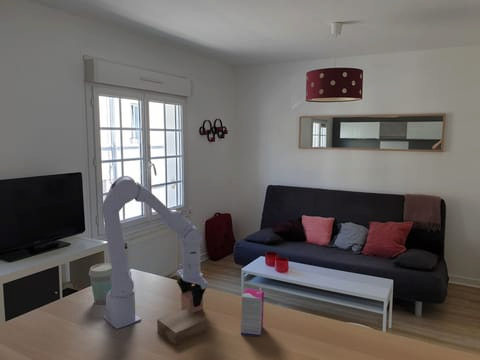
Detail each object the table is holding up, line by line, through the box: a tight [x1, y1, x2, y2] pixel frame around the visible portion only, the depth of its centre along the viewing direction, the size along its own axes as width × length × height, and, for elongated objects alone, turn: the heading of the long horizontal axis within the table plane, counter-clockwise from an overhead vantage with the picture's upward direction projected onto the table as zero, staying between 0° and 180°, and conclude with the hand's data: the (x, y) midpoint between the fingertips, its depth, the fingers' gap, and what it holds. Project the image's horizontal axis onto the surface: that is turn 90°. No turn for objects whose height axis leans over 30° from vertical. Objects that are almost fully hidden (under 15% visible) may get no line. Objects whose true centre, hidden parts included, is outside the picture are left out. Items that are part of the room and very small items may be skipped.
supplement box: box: [240, 288, 265, 337], centre depth 110 cm, size 6×6×12 cm
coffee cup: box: [88, 263, 112, 306], centre depth 129 cm, size 8×9×12 cm
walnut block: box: [156, 309, 207, 346], centre depth 110 cm, size 10×10×4 cm
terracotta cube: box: [180, 291, 204, 314], centre depth 124 cm, size 5×5×5 cm
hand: (192, 303), depth 124 cm, fingers closed on terracotta cube, 5 cm apart
